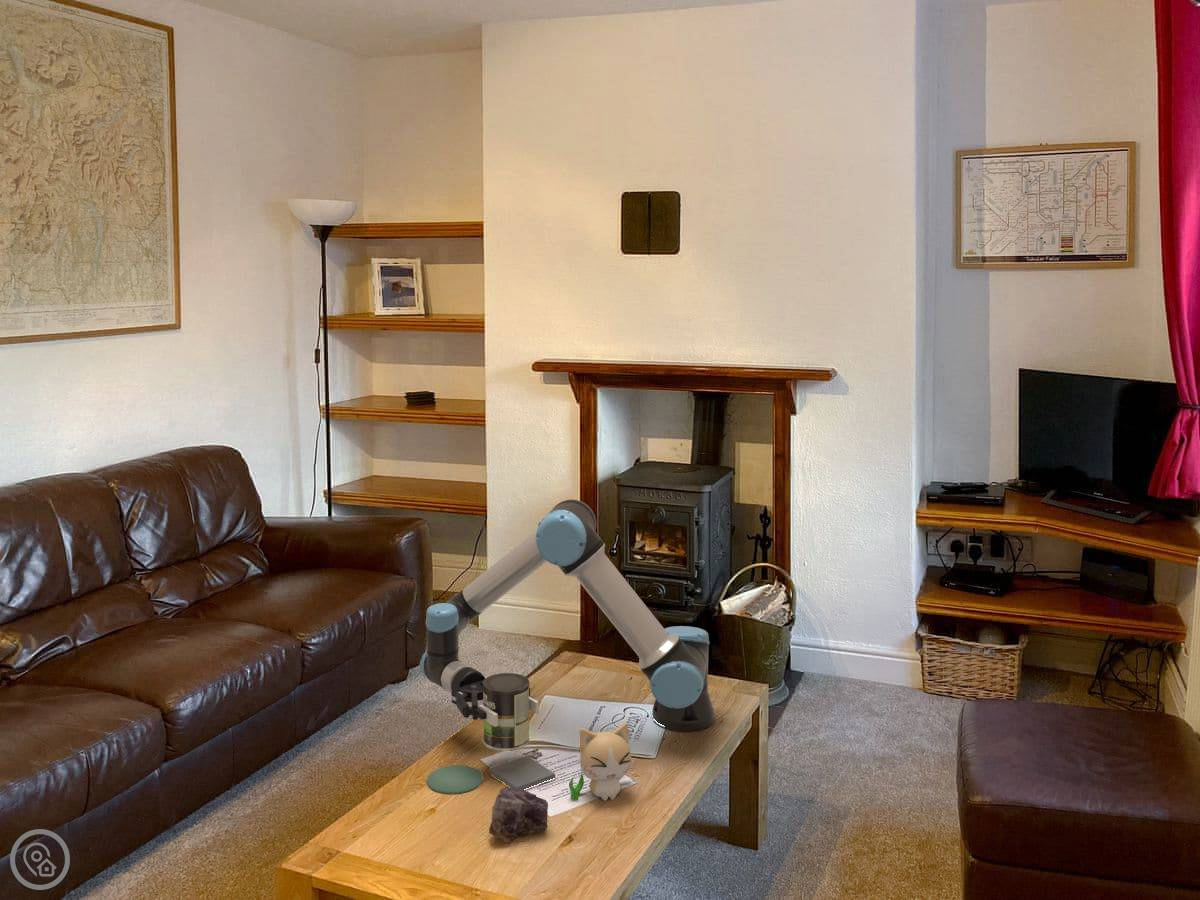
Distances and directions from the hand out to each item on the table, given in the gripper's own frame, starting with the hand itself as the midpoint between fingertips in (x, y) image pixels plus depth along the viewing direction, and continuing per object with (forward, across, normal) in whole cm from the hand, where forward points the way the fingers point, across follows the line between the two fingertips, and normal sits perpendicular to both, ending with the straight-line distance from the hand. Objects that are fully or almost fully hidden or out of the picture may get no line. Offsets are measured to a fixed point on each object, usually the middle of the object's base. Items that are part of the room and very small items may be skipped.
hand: (517, 714), depth 243 cm
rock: (+20, +14, -14) cm, 28 cm away
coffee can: (-4, 0, -8) cm, 9 cm away
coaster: (-6, +13, -14) cm, 20 cm away
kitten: (+19, -9, -14) cm, 25 cm away
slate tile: (-4, 0, -13) cm, 14 cm away
